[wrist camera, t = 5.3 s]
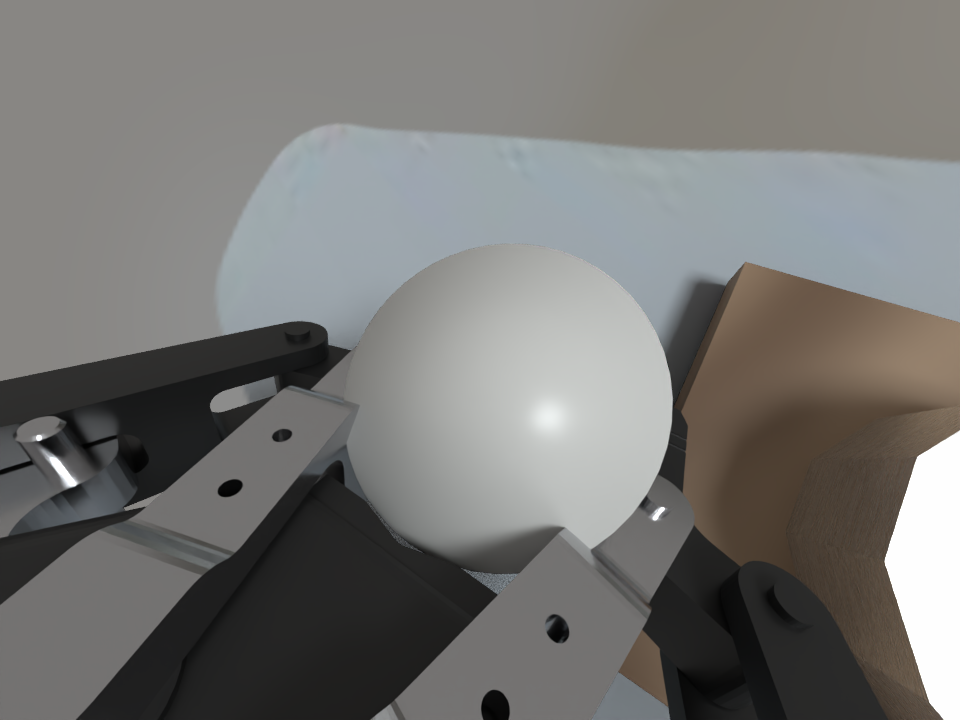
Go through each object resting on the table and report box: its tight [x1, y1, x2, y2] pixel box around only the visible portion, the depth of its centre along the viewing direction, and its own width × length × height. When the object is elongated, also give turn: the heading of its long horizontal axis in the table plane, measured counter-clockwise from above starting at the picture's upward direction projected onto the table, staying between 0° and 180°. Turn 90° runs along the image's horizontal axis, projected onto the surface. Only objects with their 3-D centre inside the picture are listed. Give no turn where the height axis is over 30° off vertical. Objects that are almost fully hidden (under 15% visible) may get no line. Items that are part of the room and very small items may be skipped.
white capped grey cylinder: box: [344, 244, 673, 574], centre depth 10 cm, size 5×5×10 cm
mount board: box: [618, 262, 960, 706], centre depth 10 cm, size 16×14×2 cm
